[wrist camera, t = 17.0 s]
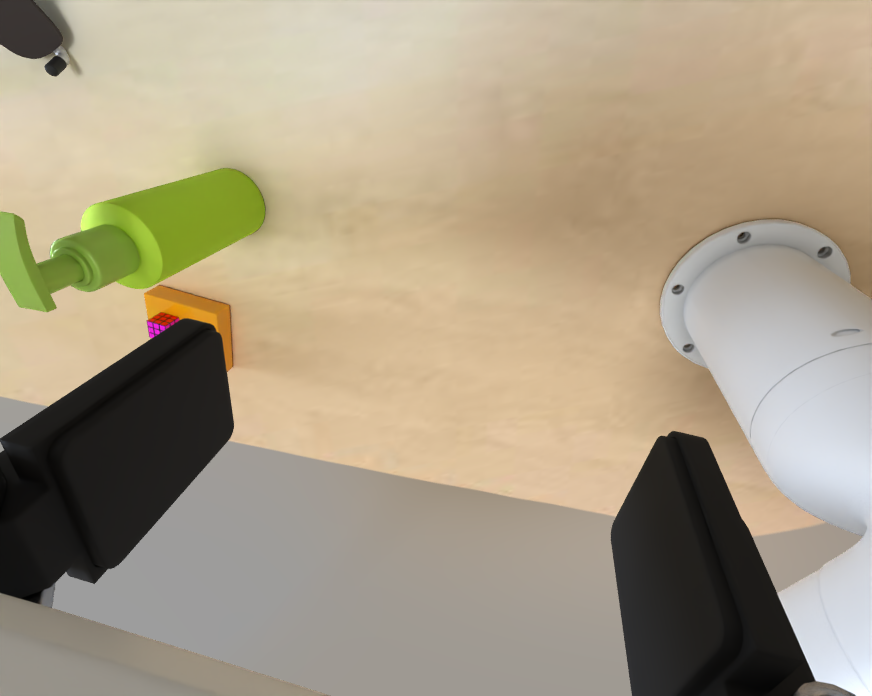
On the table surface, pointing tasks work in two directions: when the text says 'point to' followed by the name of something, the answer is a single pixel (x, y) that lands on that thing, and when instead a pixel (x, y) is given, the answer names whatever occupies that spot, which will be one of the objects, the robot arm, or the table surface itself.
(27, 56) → the laptop tray
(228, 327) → the orange tile with knob
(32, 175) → the table surface
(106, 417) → the robot arm
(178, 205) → the soap dispenser
